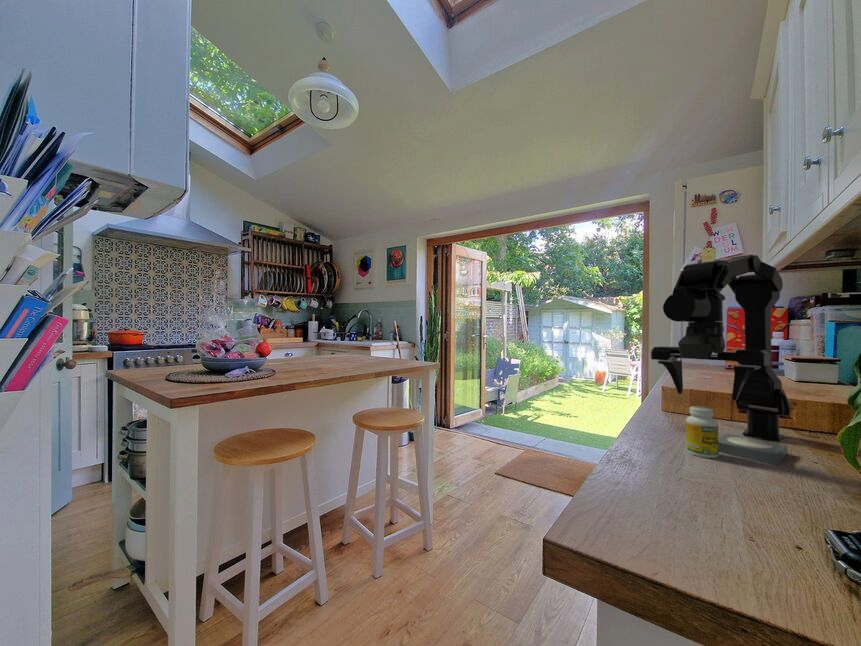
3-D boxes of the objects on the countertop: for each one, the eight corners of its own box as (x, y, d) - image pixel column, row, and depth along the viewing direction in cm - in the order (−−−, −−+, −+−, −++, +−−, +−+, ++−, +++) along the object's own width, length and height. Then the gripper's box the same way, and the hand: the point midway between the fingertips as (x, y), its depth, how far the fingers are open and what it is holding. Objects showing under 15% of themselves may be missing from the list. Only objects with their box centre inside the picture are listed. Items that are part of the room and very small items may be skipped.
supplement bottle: (702, 449, 76) (701, 405, 76) (726, 458, 70) (725, 410, 71) (680, 450, 75) (679, 405, 75) (702, 459, 70) (702, 411, 70)
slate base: (726, 441, 81) (726, 432, 81) (787, 454, 73) (787, 444, 73) (712, 450, 75) (712, 440, 75) (776, 465, 67) (776, 454, 67)
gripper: (639, 322, 75) (640, 394, 75) (756, 320, 60) (757, 410, 60) (660, 322, 82) (661, 389, 82) (769, 321, 67) (771, 402, 67)
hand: (706, 396), depth 72 cm, fingers open, 9 cm apart
